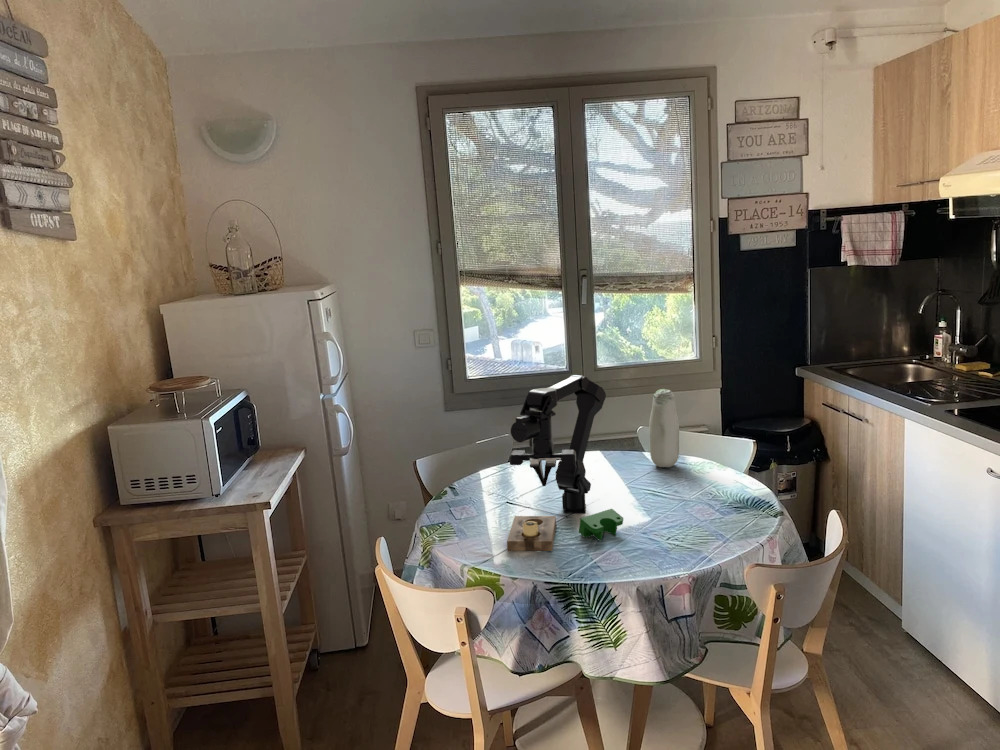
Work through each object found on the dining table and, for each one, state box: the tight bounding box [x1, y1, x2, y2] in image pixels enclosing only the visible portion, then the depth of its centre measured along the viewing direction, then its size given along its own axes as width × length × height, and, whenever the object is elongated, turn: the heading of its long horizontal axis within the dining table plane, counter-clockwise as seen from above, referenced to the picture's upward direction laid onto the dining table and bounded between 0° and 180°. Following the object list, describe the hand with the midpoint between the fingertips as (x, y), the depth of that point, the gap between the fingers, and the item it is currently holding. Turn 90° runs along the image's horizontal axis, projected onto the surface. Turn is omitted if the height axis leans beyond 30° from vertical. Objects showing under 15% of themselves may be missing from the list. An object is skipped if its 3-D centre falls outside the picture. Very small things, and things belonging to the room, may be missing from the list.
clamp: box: [578, 508, 624, 541], centre depth 205 cm, size 12×6×9 cm, turn 114°
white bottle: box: [648, 388, 680, 468], centre depth 257 cm, size 10×10×28 cm
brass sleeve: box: [523, 521, 538, 538], centre depth 202 cm, size 4×4×6 cm
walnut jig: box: [506, 515, 557, 552], centre depth 206 cm, size 12×18×3 cm
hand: (544, 485), depth 213 cm, fingers closed
